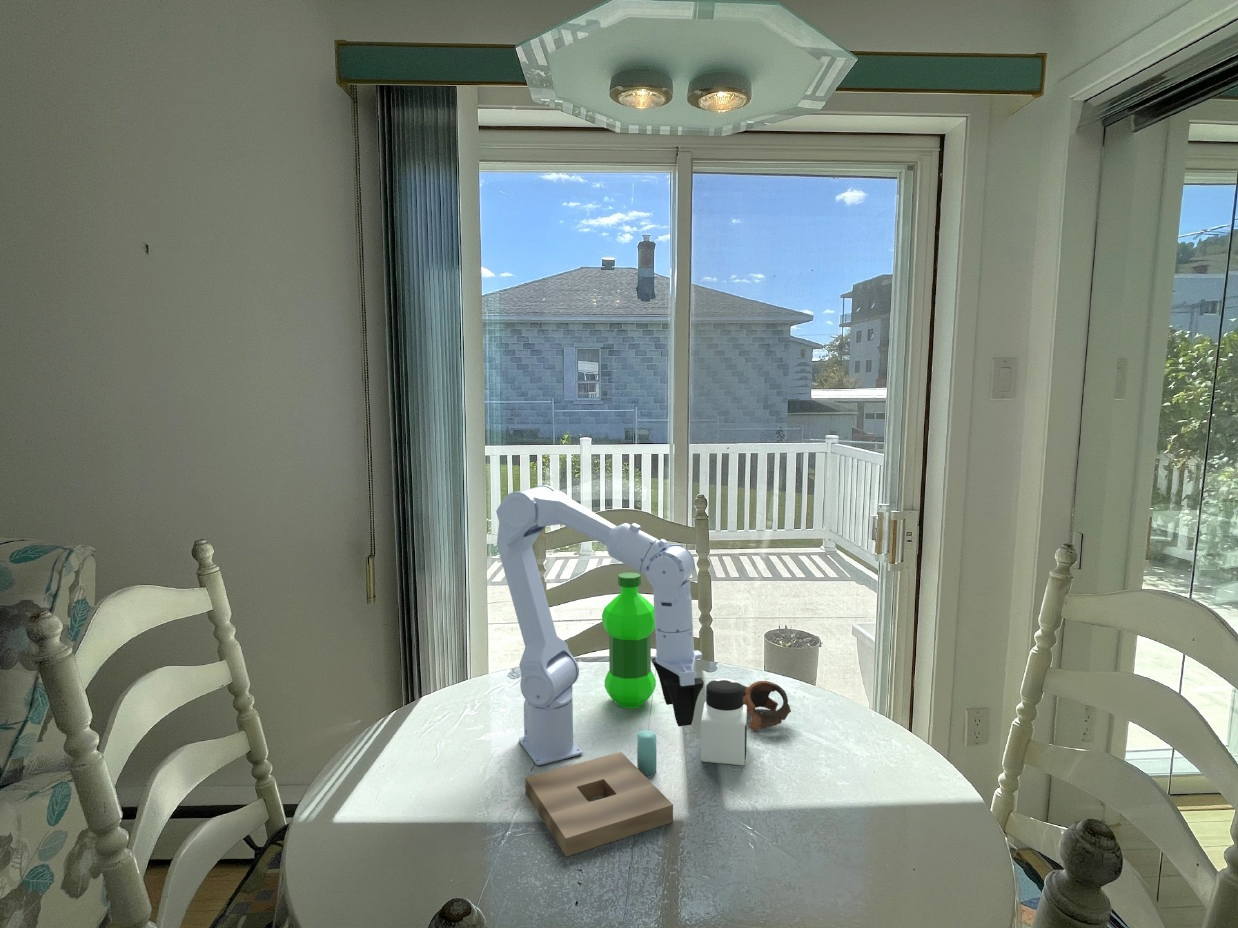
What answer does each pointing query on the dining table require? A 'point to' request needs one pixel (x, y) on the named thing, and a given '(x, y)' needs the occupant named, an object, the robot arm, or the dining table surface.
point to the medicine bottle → (724, 723)
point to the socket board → (597, 802)
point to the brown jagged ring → (764, 704)
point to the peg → (646, 752)
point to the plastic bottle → (629, 644)
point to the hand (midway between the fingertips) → (678, 713)
